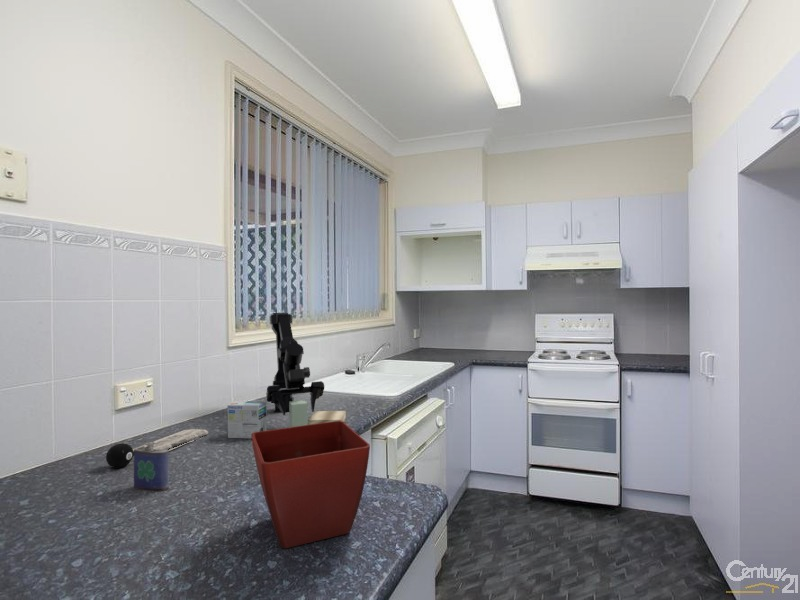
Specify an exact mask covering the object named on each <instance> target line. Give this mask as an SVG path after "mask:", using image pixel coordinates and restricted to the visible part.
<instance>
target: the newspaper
mask: <svg viewBox="0 0 800 600" xmlns="http://www.w3.org/2000/svg"><path fill="white" fill-rule="evenodd" d="M208 434H209V431H207V430H206V429H199V428H198V429H197V428H196V429H195V428H192V429H183V430H181V431H179V432H175V433H173V434H170V435H168V436H165V437H161V438H160V439H157V440H154V441H151V442H150V443H152V442H155V444H154V445H153V446H154V447H153V449H167V450H168V449H169V448H170V449H169V450H168V452H170V451H172V450H174V449H177V448H179V447H181V446H184V445H186V444H189V443H191V442H195V441H194V440H192V439H195V438H197V437H202V436H203V437H204V436H206V435H208ZM190 440H192V441H190ZM187 441H189V442H187ZM185 442H187V443H185ZM183 443H184V444H183ZM179 444H180V445H179ZM181 444H182V445H181ZM178 445H179V446H178ZM142 446H144V447H147V445H145V444H143V445H140V446H138V447H136V448H139V447H142ZM174 446H177V447H174ZM173 447H174V448H173ZM132 449H133V453H134V449H135V448H132Z"/></svg>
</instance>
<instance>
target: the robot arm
mask: <svg viewBox="0 0 800 600" xmlns="http://www.w3.org/2000/svg"><path fill="white" fill-rule="evenodd" d="M269 324H270V325H271V326H270V327H271V330H272V332H273V333H274V335H275V339H276V340H275V341H276V343H275V344H276V360H277V361H276V362H277V371H276V374H275V375H274V377H273V380H272V385H268V386H267V387H266V393H265V394H266V396H265V398H266V399H265V400H266V402H270V403H271V404H274V410H273V412H274V413H277V412H278V413H282V415H283V416H286V412H289V402H291V401H295V400H294V399H295V397H293V395H299V394H308V393H309V394H310V399H309V400H310V408H311V412H312V413H313V412H314V413H315V408H316V407H315V405H316V401H317V399H319V398H320V397H322V396H323V394H324V391H325V383H324V382H323V381H322V380H320V381H312V382H311V383H310V386H304V385H305V379H308V378H310V377H311V371H310V367H309V366H308V367H307V366H306V367H303V368H301V365H300V364H302V358H303V355H304V354H305V353H304V346H302V344H300V343H299V342H298V341H297V340H296V339H294V336H293V331H292V325H291V324H293V314H291V313H289V312H272V314H271V315H269Z"/></svg>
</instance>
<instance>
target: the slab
mask: <svg viewBox="0 0 800 600" xmlns="http://www.w3.org/2000/svg"><path fill="white" fill-rule="evenodd" d="M345 419H346V420H347V411H346V410H323V411H322V410H319V411H318V410H317V411H316V410H314V413H313V414H312V415H311V417H310V418H309V419H308V425H311V424H318V423H326V422H333V421H343V422H344V423H346V420H345Z"/></svg>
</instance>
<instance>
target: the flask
mask: <svg viewBox="0 0 800 600" xmlns="http://www.w3.org/2000/svg"><path fill="white" fill-rule="evenodd" d="M151 442H152V443H151ZM151 442H145V444H144V445H147V447H144V446H143V445H141V446H142V447H140V446H138V447H139V448H137V447H136V448H135V447H134V448H133V449H134V452H133V488H134V489H136V490H139V491H151V492H153V491H154V492H159V491H160V492H164V491H167V490H168V489H169V488H170V480H169V479H170V477H169V456H170V455H169V451H168V449H153V447H154V446H153V445H154V444H155V442H153V441H151Z"/></svg>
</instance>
